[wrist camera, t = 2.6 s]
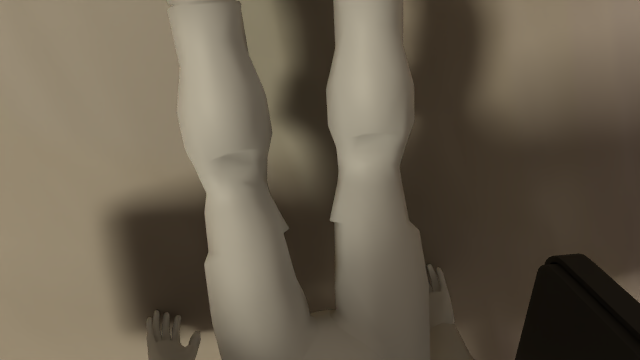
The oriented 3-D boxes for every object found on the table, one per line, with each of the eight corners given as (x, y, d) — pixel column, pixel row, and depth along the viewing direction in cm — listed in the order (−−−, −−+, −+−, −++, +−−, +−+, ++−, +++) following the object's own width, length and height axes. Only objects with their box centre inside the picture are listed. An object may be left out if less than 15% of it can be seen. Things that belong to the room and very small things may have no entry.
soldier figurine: (93, -10, 11) (187, 546, 12) (-36, -136, 5) (157, 872, 7) (406, -36, 12) (455, 483, 13) (556, -163, 6) (608, 726, 8)
